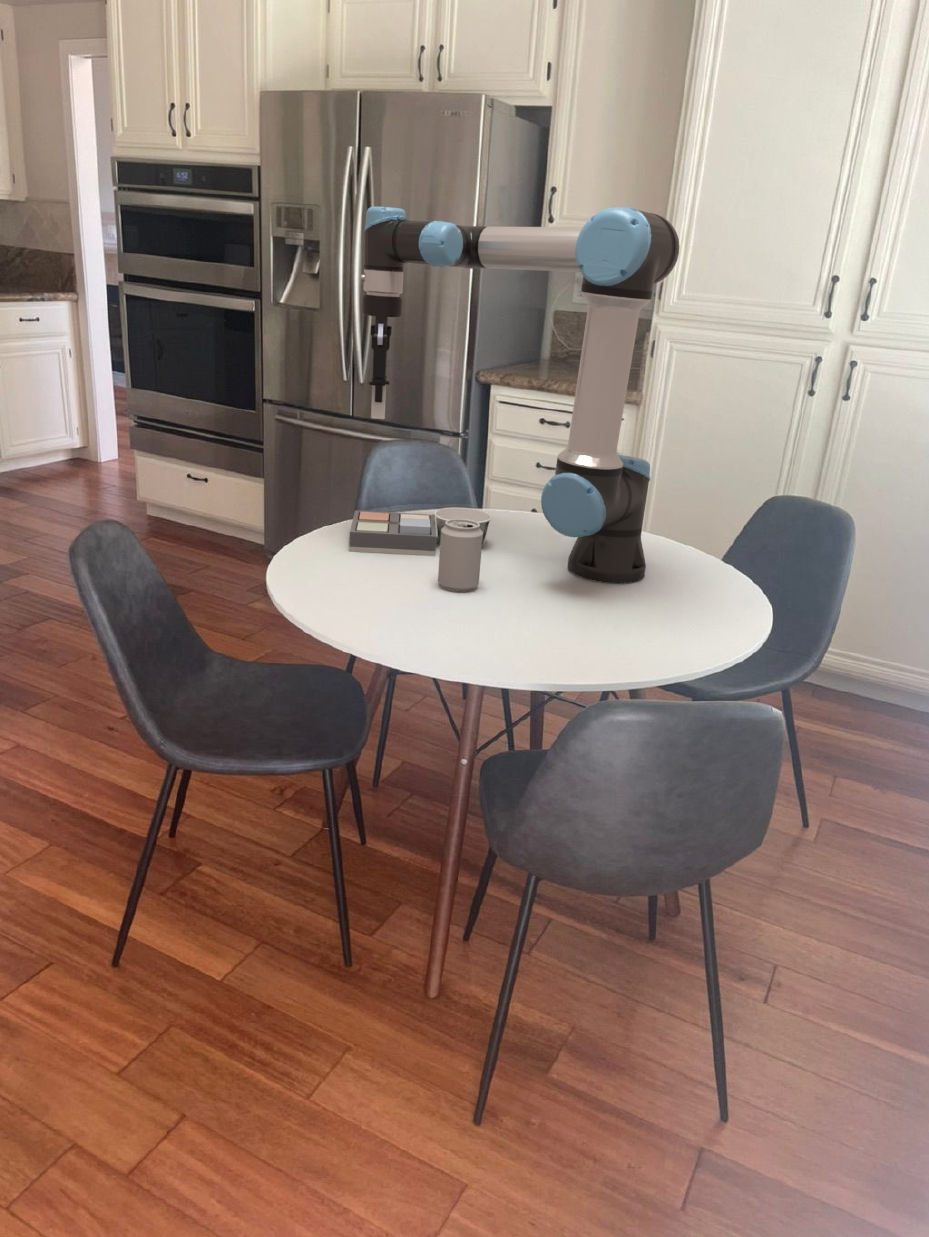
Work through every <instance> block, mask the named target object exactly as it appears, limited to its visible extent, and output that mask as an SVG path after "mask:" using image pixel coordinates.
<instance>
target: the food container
mask: <svg viewBox="0 0 929 1237" xmlns="http://www.w3.org/2000/svg"><path fill="white" fill-rule="evenodd" d="M433 515H434V516H435V523H436V532H437V539H438V545H439V546H440V540H441V529H442V528H443V527H444V526H445V525H446V524H445V522H446V521H447V520H450V519H468V520H473V521H476V522H478V523H479V524H480V527H479V528H480V529H481V531H482V532H483V538H482V549H483V547H484V543H485V540H486V536H487V533H488V527H489V524H490V522H491V521H492V519H493V516H492V515H491V514H490V513H489V512H486V511H484V510H481V509H476V508H469V507H458V506H457V507H443V508H439V509H437V510H435V511H434V512H433Z"/></svg>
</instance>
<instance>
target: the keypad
mask: <svg viewBox="0 0 929 1237" xmlns="http://www.w3.org/2000/svg"><path fill="white" fill-rule="evenodd" d="M360 512H377V513H389V521H371V520H359V517H360ZM401 514H412V515H429V519H430V535H421V534H403V533H400V518H401ZM358 522H367V523H385V524H388V533H385V532H367V531H357V526H358ZM348 543H349V546H348V547H349V548H348V551H349V552H350V553H351V552H353V553H354V552H355V553H369V554H370V553H371V554H387V555H389V554H392V555H394V554H395V555H407V556H408V555H409V556H424V557H425V556H427V557H436V551H437V550H436V548H437V523H436V517H435V516H434V514H426V513H425V514H424V513H409V512H408V513H407V512H391V511H390V512H389V511H375V510H371V511H370V510H354V514H353V517H352V522H351V526H350V529H349V542H348Z"/></svg>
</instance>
